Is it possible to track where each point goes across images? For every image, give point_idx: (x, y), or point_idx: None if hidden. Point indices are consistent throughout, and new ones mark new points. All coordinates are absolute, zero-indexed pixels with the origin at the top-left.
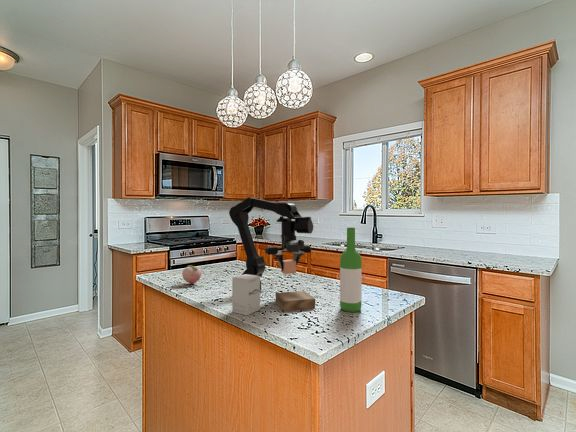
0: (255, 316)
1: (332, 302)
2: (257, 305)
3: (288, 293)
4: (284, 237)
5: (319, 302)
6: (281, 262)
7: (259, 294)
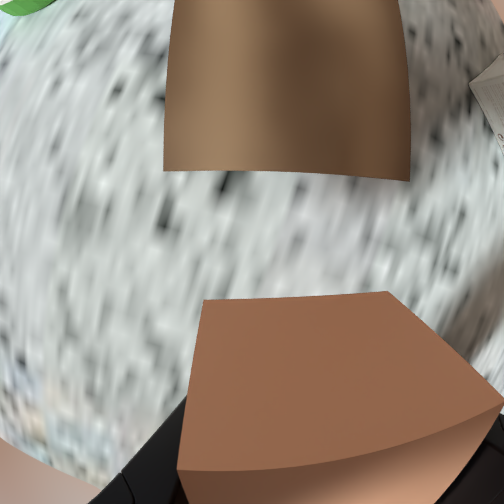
0: (478, 29)
1: (49, 78)
2: (491, 71)
3: (326, 127)
4: None
5: (110, 85)
6: (497, 423)
7: None
